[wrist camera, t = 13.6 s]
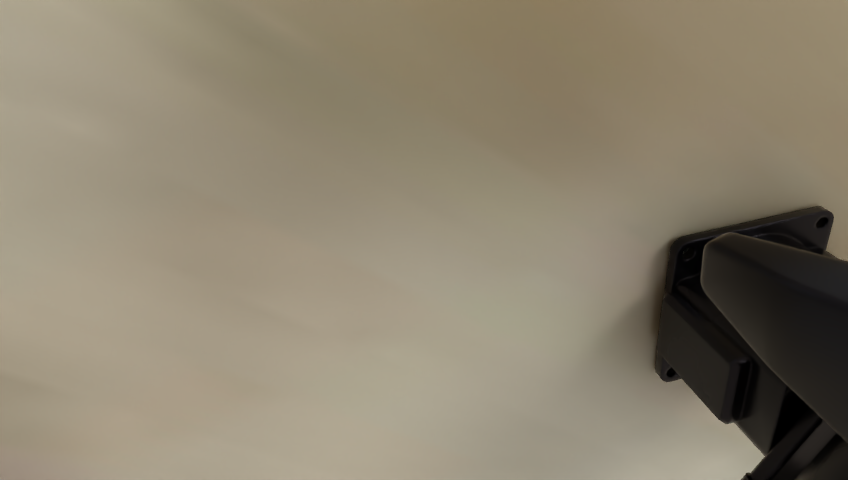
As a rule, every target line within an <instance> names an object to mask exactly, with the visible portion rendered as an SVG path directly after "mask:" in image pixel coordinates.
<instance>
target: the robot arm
mask: <svg viewBox="0 0 848 480" xmlns="http://www.w3.org/2000/svg"><path fill="white" fill-rule="evenodd" d="M833 219H834V216H833V214H832V212H830V211H828V210H826V209H825V208H823V207H821V206H816V207H812V208H807V209H803V210H798V211H794V212H790V213H785V214H781V215H776V216H772V217H767V218H763V219H758V220H754V221H749V222H745V223H740V224H736V225H731V226H727V227H723V228H718V229H714V230H709V231H705V232H700V233H696V234H691V235H687V236H683V237H681V238H678V239H677V240H676V241H675V242H674V243H673V244H672V246H671V249H670V253H669V261H668V269H667V277H666V285H665V293H664V299H663V302H662V310H661V318H660V326H659V334H658V342H657V358H656V366H655V371H656V373H657V374H658V375H659V376H660V378H661V379H662V380H663V381H665V382H670V381H674V380H678V379H683V380H684V381H685V383H686V384H687V385H688V386H689V387H690V388H691V389H692V390H693V391H694V393H695V394H696V395H697V396H698V397H699V398H700V399H701V400H702V402H703V403H704V404H705V405H706V406H707V407H708V408H709V409H710V410H711V412H712V413H713V414H714V415H715V416H716V417H717V418H718V419H719V420H720V421H722V422H723V423H725V424H729V423H733V422H734V423H735V424H736V425H737V426H738V427H739V428H740V429H741V430H742V432H743V433H744V434H745V435H746V436H747V437H748V438H749V439H750V440H751V441H752V442H753V444H754V445H755V446H756V447H757V448H758V449H759V450H760V451H761V452H762V453H763V454H764V456H765V457H764V458H763V459H762V461H761V462H760V463H759V464H758V465H757V466H756V468H755V469H754V470H753V471H752V472H751V473H746V474H745V476H744V477H743V478H742V479H741V480H848V261H844V260H840V259H838V258H836V257H835V256H833V255H832V254H830V253H829V252H827V251H826V247H827V243H828V239H829V235H830V232H831V228H832V224H833ZM687 248H688V250H687V251H686V252H685V253H683V252H684V251H685V250H686V249H687Z"/></svg>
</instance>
